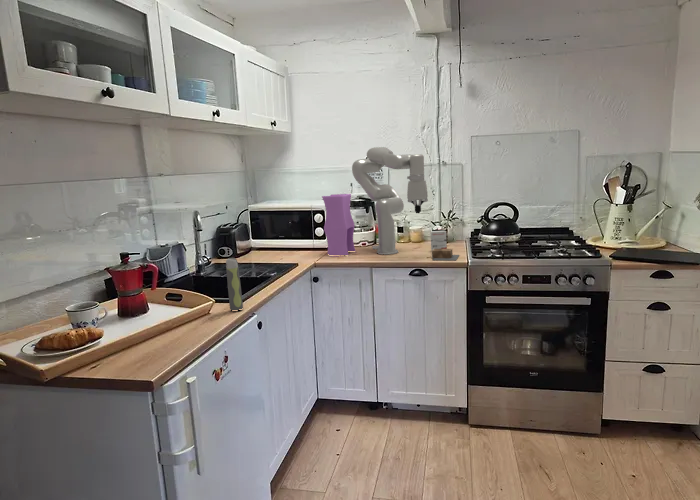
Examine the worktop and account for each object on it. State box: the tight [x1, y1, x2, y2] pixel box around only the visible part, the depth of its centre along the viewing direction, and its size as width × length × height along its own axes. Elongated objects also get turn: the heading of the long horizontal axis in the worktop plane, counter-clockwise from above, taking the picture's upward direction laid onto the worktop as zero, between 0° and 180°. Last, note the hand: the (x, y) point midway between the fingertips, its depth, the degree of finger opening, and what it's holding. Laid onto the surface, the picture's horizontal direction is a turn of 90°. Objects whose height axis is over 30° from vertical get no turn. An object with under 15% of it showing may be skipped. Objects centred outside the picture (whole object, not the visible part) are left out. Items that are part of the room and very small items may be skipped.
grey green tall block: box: [225, 257, 244, 310], centre depth 178 cm, size 5×5×20 cm
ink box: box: [430, 230, 448, 253], centre depth 272 cm, size 9×5×12 cm, turn 84°
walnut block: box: [431, 248, 454, 259], centre depth 254 cm, size 4×6×10 cm
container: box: [321, 193, 357, 256], centre depth 280 cm, size 14×14×35 cm
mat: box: [432, 254, 460, 262], centre depth 253 cm, size 12×14×1 cm
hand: (418, 213), depth 254 cm, fingers closed
